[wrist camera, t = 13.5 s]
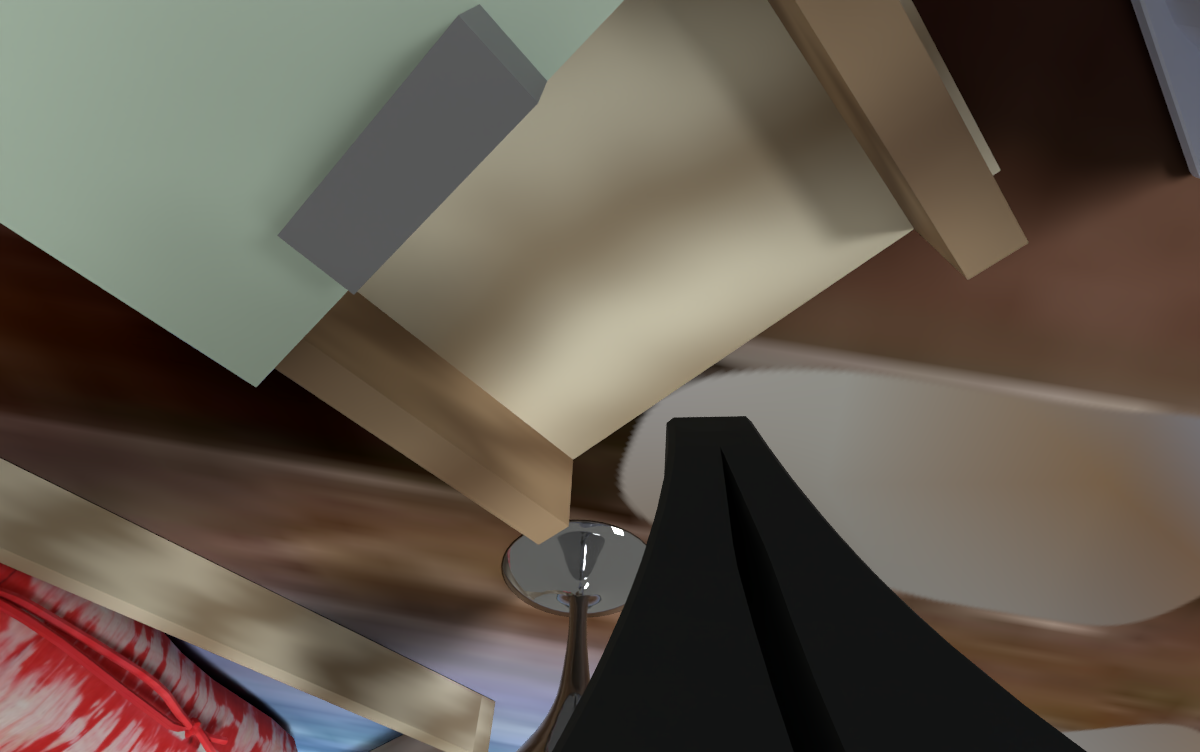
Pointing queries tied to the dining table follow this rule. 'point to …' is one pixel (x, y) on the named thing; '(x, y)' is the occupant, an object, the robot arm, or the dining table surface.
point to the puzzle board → (653, 233)
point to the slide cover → (256, 143)
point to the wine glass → (572, 599)
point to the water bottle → (109, 683)
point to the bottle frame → (230, 616)
